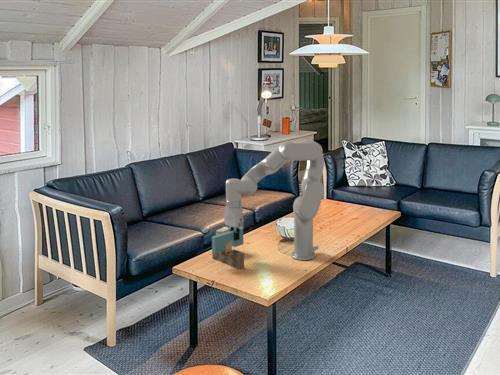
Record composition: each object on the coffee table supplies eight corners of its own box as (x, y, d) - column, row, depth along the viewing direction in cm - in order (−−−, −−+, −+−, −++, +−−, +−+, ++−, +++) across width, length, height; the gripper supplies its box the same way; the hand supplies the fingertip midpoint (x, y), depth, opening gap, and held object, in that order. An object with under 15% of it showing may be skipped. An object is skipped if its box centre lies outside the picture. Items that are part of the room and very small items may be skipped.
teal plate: (215, 253, 245) (214, 237, 243) (212, 252, 246) (211, 236, 245) (243, 244, 256) (242, 229, 254) (240, 243, 258) (239, 228, 256)
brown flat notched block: (212, 258, 260) (211, 243, 258) (216, 257, 261) (215, 242, 260) (240, 269, 244) (239, 254, 242) (244, 268, 245) (243, 252, 244)
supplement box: (223, 255, 264) (223, 231, 261) (216, 254, 266) (215, 230, 263) (232, 250, 271) (231, 227, 268) (225, 249, 273) (224, 226, 270)
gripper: (217, 202, 253) (218, 237, 257) (238, 208, 241) (239, 244, 245) (229, 199, 258) (230, 234, 262) (250, 205, 246) (251, 241, 250)
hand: (234, 238), depth 253 cm, fingers closed on teal plate, 2 cm apart
